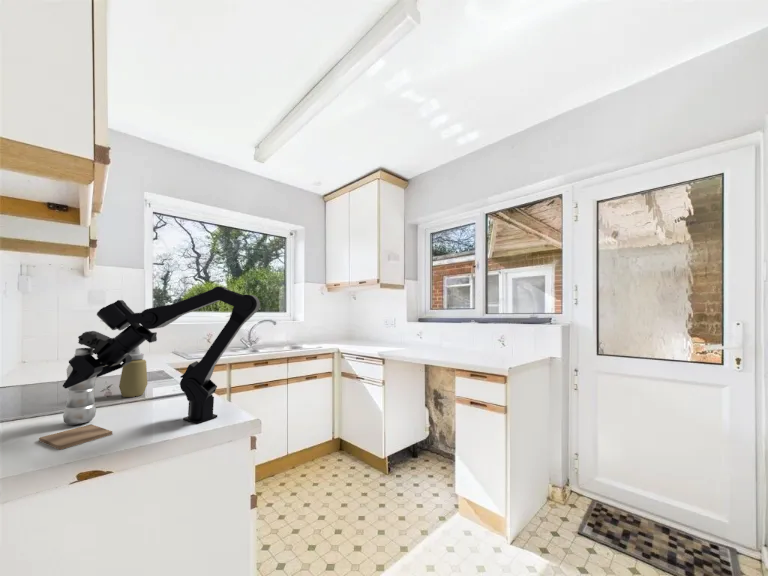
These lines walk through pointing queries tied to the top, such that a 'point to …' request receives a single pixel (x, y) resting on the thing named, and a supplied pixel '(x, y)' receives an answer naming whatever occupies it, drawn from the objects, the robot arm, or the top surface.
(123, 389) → the squeeze bottle
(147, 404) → the top surface
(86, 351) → the plastic bottle
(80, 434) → the walnut board
